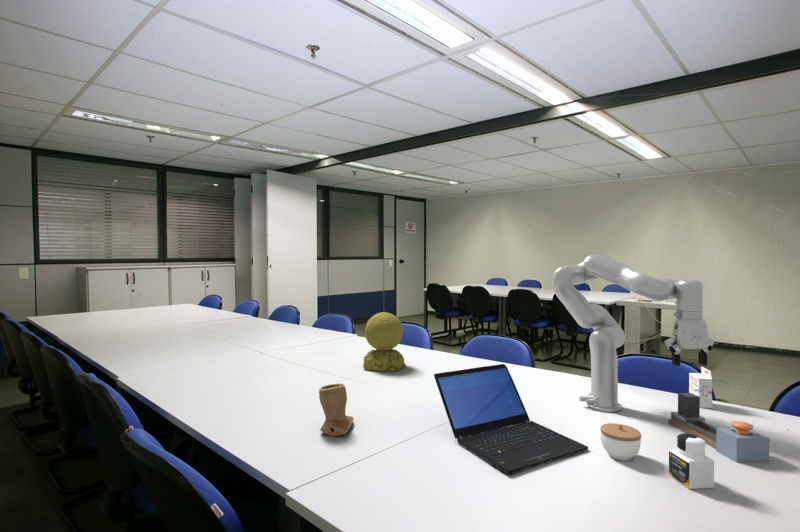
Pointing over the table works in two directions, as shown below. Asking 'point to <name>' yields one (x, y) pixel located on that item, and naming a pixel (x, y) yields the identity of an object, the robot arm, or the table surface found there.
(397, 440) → the table surface
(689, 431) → the slide rail track
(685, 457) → the medicine bottle
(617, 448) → the lidded jar
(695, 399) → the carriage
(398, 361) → the trophy
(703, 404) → the ink cartridge box
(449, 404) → the laptop
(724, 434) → the button housing
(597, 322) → the robot arm
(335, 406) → the tan hollow upright piece
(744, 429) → the button
